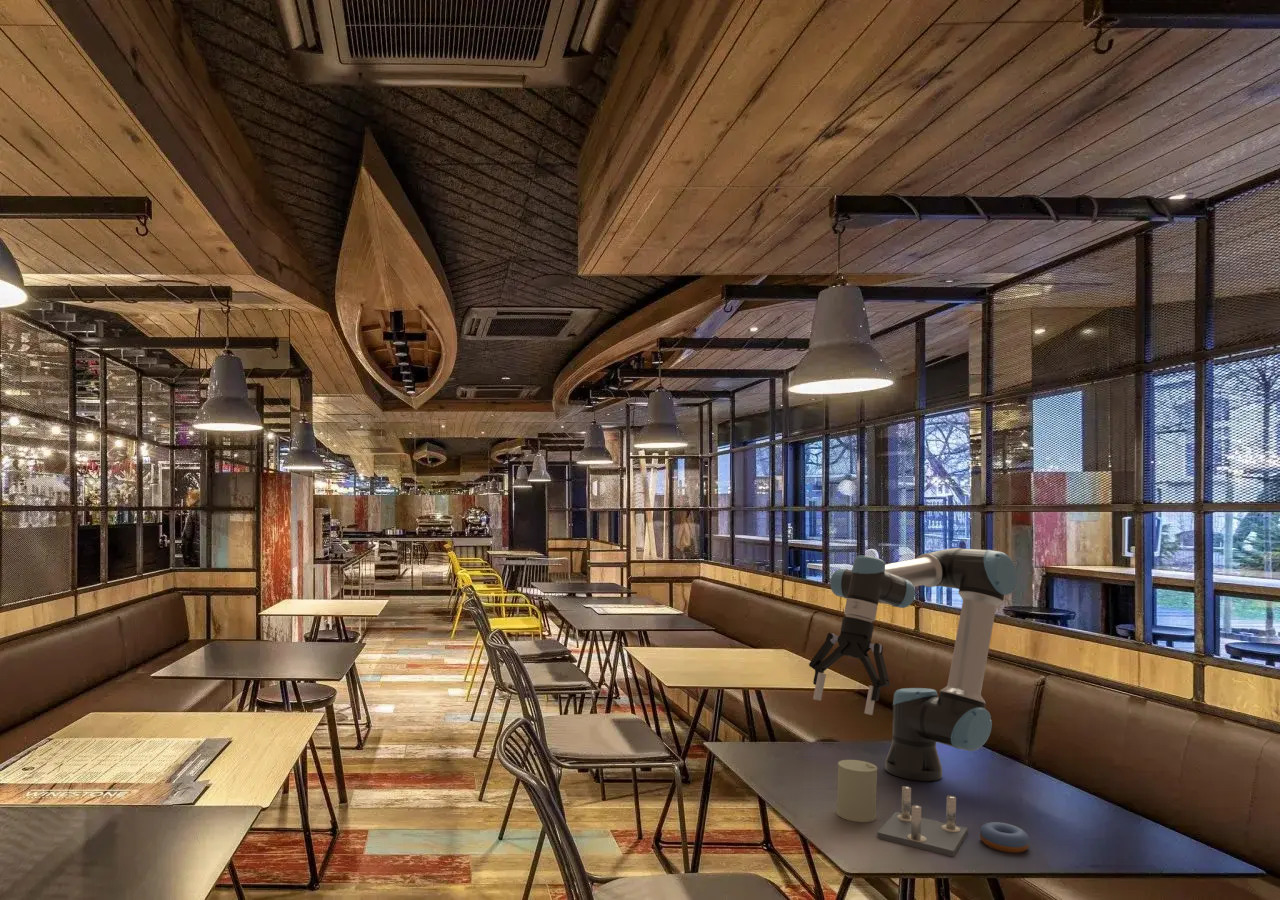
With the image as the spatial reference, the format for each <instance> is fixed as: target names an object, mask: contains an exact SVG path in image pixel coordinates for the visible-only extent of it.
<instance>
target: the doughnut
mask: <svg viewBox="0 0 1280 900" xmlns="http://www.w3.org/2000/svg"><path fill="white" fill-rule="evenodd" d="M979 836H980V837H979V838H980V839H981V841H982V842H983V844H984V845H985V846H987V847H989V848H991V849H993V850H997V851H999V852H1003V853H1010V854H1020V853H1023V852H1025V851H1026V850H1028V848H1029V847H1030V838H1029V837H1030V836H1029V835H1028V834H1027V832H1025V830H1024V829H1022V828H1020V827H1018V826H1017V825H1013V824H1010V823H1006V822H999V821H998V822H997V821H991V822H986V823H984V824H983V825H981V827H980V831H979Z"/></svg>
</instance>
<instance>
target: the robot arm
mask: <svg viewBox="0 0 1280 900" xmlns="http://www.w3.org/2000/svg"><path fill="white" fill-rule="evenodd" d="M852 565H853V566H852V569H847V568H843V569H841V568H840V569H837V570H835V571H834V572H833V574H832V575H831V578H830V581H829V582H830V583H829V584H830V589H831V592H832V593H833V594H834V596H836V597H840V598H844V599H846V600H845V604H844V605H845V606H844V611H843V614H844V615H845V616H843V617H842V621H841V627H840V633H839V635H836V634H834V633H832V632H829V633H827V635H826V638H825V641H824V642H823V644H822V645H821V646H820V647H819V649H818V651H817V652H816V654H815V655H814V656H813V658H812V659H811V661H810V662H809V663H808V666H809V668H812V669H813V670H814V672H815V673H814V677H813V680H812V682H813V685H814V686H815V688H814V691H813V696H812V697H813V698H812V700H814V701H822V696H823V692H824V688H825V687H824V686H825V683H826V677H827V674H826V673H825V671H826V670H828V669H829V668H830V667H831V666H832V665H833V664H834V663H836V662H837V661H838V660H839V659H840V658H842V657H844V656H846V657H850V658H855V659H859V660H860V661H861V663H862V664H863V667H864V669H865V671H866V673H867V675H868V677H869V679H870V682H871V683H872V685H870V684H869V686H868V691H867V697H866V702H865V708H864V712H863V714H866V715H870V716H873V715H874V707H875V702H879V700H880V694H881V690H882V688H885V687H887V688H888V687H889V686H890V684H891V682H890V677H889V675H888V671H887V665H886V662H885V659H884V655H883V654H884V653H883V651H884V646H883V644H881V643H879V642H878V643H877V642H875V643H872V641H871V640H872V637H873V635H874V634H873V633H874V627H875V625H874V623H873V622H875V621H876V617H877V611H878V605H879V604H885V605H889V606H891V607H893V608H900V609H905V608H908V607H909V606H910V605H911V604H912V603H913V601H914V599H915V597H916V587H920V586H924V587H926V588H933V587H944V588H951V589H957V590H958V595H959V596H960V598H961V599H962V605H961V609H960V614H959V615H960V616H959V619H958V620H959V621H958V626H957V632H956V637H955V641H954V647H953V653H952V659H951V664H950V669H949V673H948V681H947V685H946V686H945V687H943V688H942V689H940V690H939V695H938V691H937V690H936V689H934V688H928V687H927V688H923V687H909V688H908V687H906V688H900V689H897V690H896V691H895V692H894V693H893V701H892V702H893V703H892V740H891V745H890V747H889V750H888V753H887V756H886V758H885V762H884V765H885V767H884V769H885V771H886V772H887V773H889V774H890V775H893V776H895V777H899V778H902V779H907V780H913V781H918V782H919V781H921V782H931V781H932V782H933V781H938V780H940V779H942V777H943V766H942V764H941V759H940V757H939V754H938V751H937V743H939V744H943V745H946V746H949V747H952V748H953V749H958V750H964V751H967V752H974V751H977V750H979V749H980V748H981V747H983V746H984V745H985V743H987V741H988V740H989V737H990V735H991V732H992V726H993V722H992V719H991V718H992V715H991V713H990V712H989V710H987V709H986V701H985V699H984V698H983V696H982V689H983V683H984V678H985V673H986V666H987V660H988V656H989V650H990V643H991V640H992V639H991V637H992V632H993V626H994V621H995V615H996V612H997V611H996V610H997V608H998V606H1000V605H1002V604H1003V603H1004V599H1005V596H1009V595H1010V594H1012V593H1013V592H1014V590H1015V589H1016V586H1017V579H1018V578H1017V577H1018V576H1017V570H1016V567H1015V565H1014V562H1013V560H1012V559H1011V557H1010V556H1009V555H1008V554H1006V553H1005V552H1002V551H998V550H992V549H975V548H973V549H972V548H961V547H956V548H946V549H941V550H936V551H933V552H927V553H923V554H920V555H919V556H917V557H916V558H913V559H909V560H903V561H897V562H892V563H886V562H885V561H884V559H880V558H879V557H875V556H870V555H862V554H861V555H857V556H856V557H855V559H854V562H853V564H852ZM837 643H838V645H837V647H835V649H834V650H833V651H832V652H831V653H830V651H831V649H832V648H833V647H834V644H837ZM870 650H871V651H872V652H871V653H873V657H874V662H875V665H876V669H875V667H874V665H873V663H872V661H871V658H870V656H869V654H868V652H869V651H870ZM829 653H830V654H829ZM828 654H829V655H828ZM827 655H828V656H827ZM876 670H877V671H876Z"/></svg>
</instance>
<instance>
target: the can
mask: <svg viewBox="0 0 1280 900" xmlns="http://www.w3.org/2000/svg"><path fill="white" fill-rule="evenodd" d="M877 779H878V766H876V765H875V764H873V763H871V762H868V761H864V760H858V759H842V760H839V761H838V762H837V800H836V801H837V802H836V810H835V811H836V812H835V813H836V815H837V816H838V817H840V818H842V819H844V820H846V821H850V822H853V823H854V822H855V823H872V822H874V821H876V819H877V812H876V811H877Z"/></svg>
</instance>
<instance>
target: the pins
mask: <svg viewBox="0 0 1280 900" xmlns="http://www.w3.org/2000/svg"><path fill="white" fill-rule="evenodd" d="M945 809H946V810H945V813H946V815H945V820H946V821H945V823H946V828H947V829H951V830H955V829H956V826H957V825H956V823H957V822H956V819H957V815H956V814H957V797H956V796H955V795H951V794H949V795H946V808H945ZM901 813H902V814H901V817H902V818H904V819H910V818H911V839H912V840H915V841H920V840H921V818H922V806H921V805H917V804H912V787H910V786H909V785H908V786H907V785H903V786H901Z"/></svg>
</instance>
